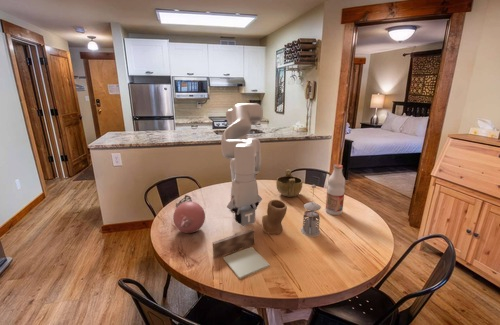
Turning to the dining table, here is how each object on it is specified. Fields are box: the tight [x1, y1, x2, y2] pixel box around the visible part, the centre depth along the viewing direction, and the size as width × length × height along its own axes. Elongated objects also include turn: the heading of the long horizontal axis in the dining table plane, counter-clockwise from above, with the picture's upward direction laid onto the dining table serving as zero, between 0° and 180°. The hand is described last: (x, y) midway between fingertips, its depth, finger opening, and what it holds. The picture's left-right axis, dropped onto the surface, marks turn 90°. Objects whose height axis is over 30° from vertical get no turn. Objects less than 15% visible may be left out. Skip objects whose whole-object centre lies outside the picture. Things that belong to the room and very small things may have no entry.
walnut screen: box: [212, 228, 256, 259], centre depth 114 cm, size 20×2×7 cm, turn 121°
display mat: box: [222, 246, 271, 280], centre depth 106 cm, size 14×14×1 cm
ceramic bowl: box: [275, 169, 303, 198], centre depth 170 cm, size 22×17×15 cm
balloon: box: [172, 200, 206, 234], centre depth 126 cm, size 15×20×15 cm
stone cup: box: [261, 199, 288, 235], centre depth 130 cm, size 15×12×15 cm
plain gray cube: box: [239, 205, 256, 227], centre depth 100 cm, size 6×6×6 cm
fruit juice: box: [324, 163, 346, 216], centre depth 145 cm, size 9×9×28 cm
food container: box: [175, 194, 193, 208], centre depth 144 cm, size 12×6×10 cm, turn 168°
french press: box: [300, 184, 322, 238], centre depth 125 cm, size 10×12×25 cm
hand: (245, 219), depth 101 cm, fingers closed on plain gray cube, 5 cm apart
